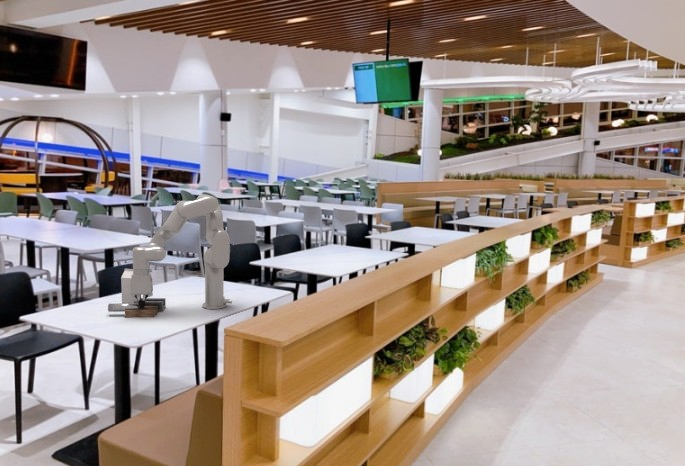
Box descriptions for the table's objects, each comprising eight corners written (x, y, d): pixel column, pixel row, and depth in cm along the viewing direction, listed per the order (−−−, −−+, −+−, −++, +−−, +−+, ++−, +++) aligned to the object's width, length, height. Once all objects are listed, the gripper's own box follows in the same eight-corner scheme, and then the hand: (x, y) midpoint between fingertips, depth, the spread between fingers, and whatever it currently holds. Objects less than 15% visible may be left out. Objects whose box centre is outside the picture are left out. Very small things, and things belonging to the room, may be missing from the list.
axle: (139, 310, 291) (139, 302, 291) (137, 312, 288) (137, 304, 287) (110, 310, 290) (109, 302, 289) (108, 312, 286) (107, 304, 285)
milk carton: (134, 306, 305) (133, 270, 302) (121, 305, 307) (120, 270, 304) (141, 302, 312) (140, 268, 309) (129, 301, 313) (128, 267, 311)
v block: (165, 307, 304) (165, 298, 304) (162, 311, 297) (162, 302, 296) (138, 307, 303) (137, 298, 302) (134, 311, 295) (134, 302, 294)
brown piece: (157, 312, 294) (157, 306, 294) (154, 317, 287) (154, 310, 286) (129, 313, 293) (129, 306, 292) (125, 317, 285) (124, 310, 285)
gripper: (158, 270, 291) (159, 305, 294) (127, 270, 289) (128, 305, 292) (155, 273, 284) (155, 309, 286) (123, 273, 282) (124, 309, 285)
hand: (142, 307), depth 289 cm, fingers closed
